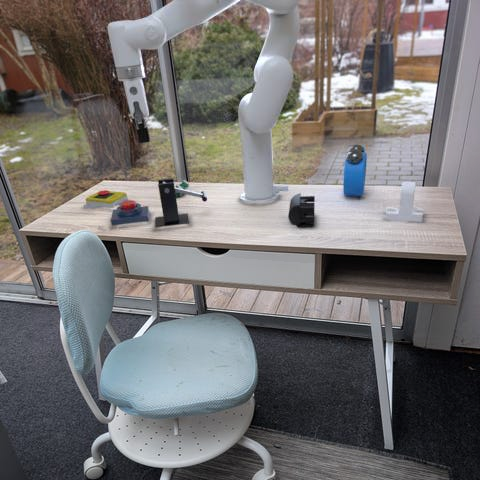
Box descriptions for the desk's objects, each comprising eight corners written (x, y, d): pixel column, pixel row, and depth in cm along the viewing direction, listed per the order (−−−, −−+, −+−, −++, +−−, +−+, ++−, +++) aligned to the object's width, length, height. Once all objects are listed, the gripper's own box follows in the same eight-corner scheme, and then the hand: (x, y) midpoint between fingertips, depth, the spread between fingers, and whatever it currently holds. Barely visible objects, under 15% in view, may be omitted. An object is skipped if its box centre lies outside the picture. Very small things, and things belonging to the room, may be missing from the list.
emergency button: (97, 186, 166) (132, 189, 160) (100, 198, 168) (134, 202, 162) (79, 195, 159) (115, 198, 153) (82, 207, 161) (118, 211, 155)
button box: (149, 213, 151) (147, 200, 149) (149, 224, 144) (146, 209, 141) (114, 218, 150) (111, 204, 148) (112, 228, 143) (109, 214, 140)
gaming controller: (172, 204, 163) (182, 192, 159) (164, 196, 162) (174, 184, 159) (182, 195, 170) (192, 183, 167) (174, 187, 169) (184, 176, 166)
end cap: (290, 215, 141) (289, 193, 137) (314, 215, 140) (314, 192, 136) (288, 228, 133) (288, 205, 129) (314, 228, 132) (314, 204, 128)
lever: (204, 197, 142) (206, 190, 141) (206, 203, 138) (208, 195, 137) (161, 187, 139) (162, 179, 138) (161, 193, 134) (162, 185, 133)
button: (136, 205, 147) (135, 199, 146) (135, 209, 143) (134, 204, 142) (122, 206, 146) (121, 201, 145) (121, 211, 143) (120, 205, 142)
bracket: (188, 217, 146) (182, 175, 139) (189, 226, 140) (183, 183, 133) (155, 220, 145) (148, 179, 138) (155, 230, 139) (148, 187, 132)
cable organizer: (422, 221, 130) (427, 185, 125) (384, 219, 133) (388, 184, 128) (423, 215, 134) (428, 179, 129) (386, 212, 137) (390, 178, 132)
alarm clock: (362, 202, 146) (365, 152, 138) (341, 201, 148) (343, 152, 140) (364, 188, 156) (368, 141, 148) (345, 188, 158) (347, 141, 150)
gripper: (144, 74, 125) (157, 145, 135) (144, 69, 138) (156, 135, 148) (115, 77, 124) (131, 149, 134) (118, 72, 137) (132, 138, 147)
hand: (144, 141), depth 141 cm, fingers closed
